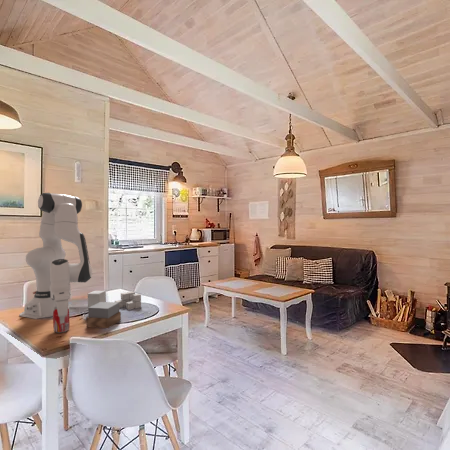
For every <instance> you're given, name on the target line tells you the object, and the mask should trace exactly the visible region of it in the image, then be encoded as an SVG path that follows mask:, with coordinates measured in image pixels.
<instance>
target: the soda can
mask: <svg viewBox="0 0 450 450" xmlns="http://www.w3.org/2000/svg"><path fill="white" fill-rule="evenodd" d="M52 321H53V322H52V325H53V331H54V332H55V333H57V334H63V333H66V332H67V331H69V330H70V324H71V323H70V309H69V308H68V313H67V316H65V319H64V323H62V324H61V323H60V317H59V316H58V311H57V306H56V307H55V308H54V311H53V316H52Z"/></svg>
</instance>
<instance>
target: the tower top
mask: <svg viewBox="0 0 450 450" xmlns="http://www.w3.org/2000/svg"><path fill="white" fill-rule="evenodd" d="M87 311H88V312H87V315H88V316H87V317H90V318H110V317H111V316H113V315H115V314H117V313H118V312H120V308H119V303H117V302H115V301H113V302H112V301H111V302H110V301H106V302H99V303H97V304H95V305H93V306H91V307H89V308H88V307H87Z"/></svg>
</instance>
